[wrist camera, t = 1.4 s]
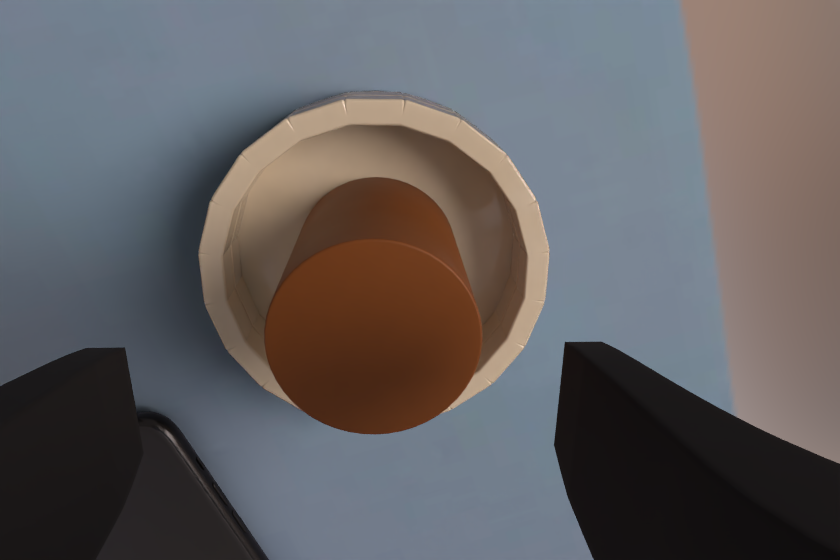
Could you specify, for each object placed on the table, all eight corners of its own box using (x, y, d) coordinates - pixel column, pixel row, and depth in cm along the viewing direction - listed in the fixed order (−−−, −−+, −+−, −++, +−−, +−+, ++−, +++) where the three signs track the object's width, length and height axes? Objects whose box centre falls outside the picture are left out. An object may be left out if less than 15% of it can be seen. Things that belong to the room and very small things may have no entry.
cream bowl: (519, 382, 20) (534, 422, 18) (235, 387, 20) (218, 428, 18) (542, 92, 17) (564, 100, 15) (204, 89, 16) (178, 97, 14)
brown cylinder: (452, 323, 19) (477, 433, 14) (302, 325, 19) (271, 437, 14) (458, 176, 17) (488, 237, 12) (293, 176, 17) (254, 239, 12)
